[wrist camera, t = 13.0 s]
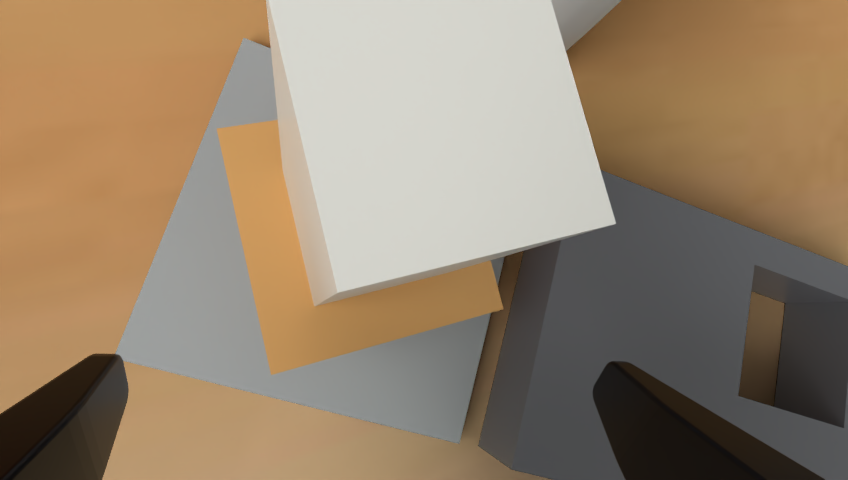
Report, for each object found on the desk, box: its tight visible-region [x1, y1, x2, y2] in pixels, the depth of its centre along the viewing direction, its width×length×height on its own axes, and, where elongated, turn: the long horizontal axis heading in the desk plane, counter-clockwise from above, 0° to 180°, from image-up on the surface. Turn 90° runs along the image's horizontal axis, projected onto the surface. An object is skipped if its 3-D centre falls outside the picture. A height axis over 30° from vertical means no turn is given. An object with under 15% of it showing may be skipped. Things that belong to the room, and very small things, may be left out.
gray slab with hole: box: [478, 170, 848, 480], centre depth 20 cm, size 11×16×3 cm
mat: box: [115, 38, 505, 444], centre depth 18 cm, size 12×12×1 cm
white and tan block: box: [217, 0, 616, 375], centre depth 12 cm, size 7×7×12 cm
